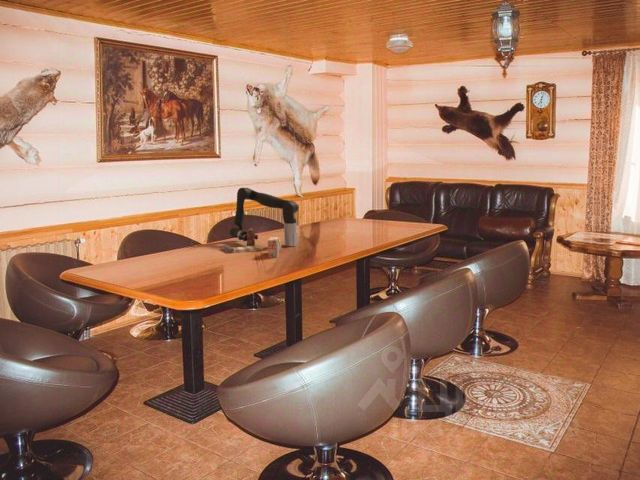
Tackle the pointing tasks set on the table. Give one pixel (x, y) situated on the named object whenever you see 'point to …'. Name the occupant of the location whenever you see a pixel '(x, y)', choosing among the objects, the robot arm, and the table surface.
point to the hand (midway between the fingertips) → (251, 238)
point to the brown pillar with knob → (250, 237)
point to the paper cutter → (241, 248)
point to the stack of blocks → (274, 247)
